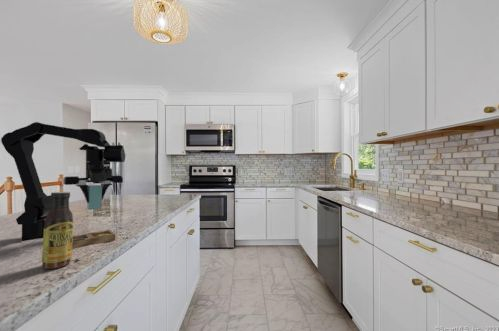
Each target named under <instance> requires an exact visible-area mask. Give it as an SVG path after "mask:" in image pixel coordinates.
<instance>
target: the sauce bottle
mask: <svg viewBox="0 0 499 331" xmlns="http://www.w3.org/2000/svg"><path fill="white" fill-rule="evenodd" d="M50 195H51V198H52V205H51V210H50V212H49V213H48V215H47V216H46V218H45V227H44V235H43V238H42V250H41V252H42V254H41V262H42V264H41V267H42V269H44V270H54V269H60V268H62V267H65V266H68V265H69V264H70V263H71V261H72V260H71V259H72V256H73V248H72V239H73V236H74V235H73V234H74V216H73V213H72V211H71V209H70V198H71V192H70V191H53V192H51V194H50Z"/></svg>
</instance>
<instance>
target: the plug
mask: <svg viewBox="0 0 499 331" xmlns="http://www.w3.org/2000/svg"><path fill="white" fill-rule="evenodd" d="M88 196H89V203H87V202H86V204H87V206H86V209H87V210H88V211H92V210H93V211H94V210H100V209H101V210H102V208H103V207H102V203H103V200H102V186H101V184H92V185H88Z"/></svg>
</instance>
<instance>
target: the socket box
mask: <svg viewBox="0 0 499 331" xmlns="http://www.w3.org/2000/svg"><path fill="white" fill-rule="evenodd" d="M98 231H99V232H96V231H92V232H93V233H89V232H86V233H87V234H83V233H80V234H76V235H73V239H72V249H77V248H82V247H88V246H93V245H97V244H102V243H108V242H113V241H116V233H115V232H113V231H112V230H111V229H107V230H106V229H105V230H98Z"/></svg>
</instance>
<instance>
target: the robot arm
mask: <svg viewBox="0 0 499 331" xmlns="http://www.w3.org/2000/svg"><path fill="white" fill-rule="evenodd" d="M45 135H50V136H55V137H61V138H67V139H74V140H77V141H81V142H83V143H84V144H83V145H82V146H80V147H79V150H80V151H85V177H79V176H70V175H69V176H64V177H63V181H62V182H63V183H62V184H63V185H66V186H67V185H68V186H70V185H73V186H76V187H78V188H80V190H81V191H82V194H83V196H84V199H85V202H86V204H87V203H89V196H88V186H89V185H88V184H87V183H100V185H101V186H102V201H103V199H104V196H105V194H106V192H107V190H108V188H109V187H110V186H112V185H113V183H115V184H120V183H121V184H122V183H123V182H124V180H123V179H124V178H123V176H122V175H113V169H112V168H105V165H104V160H106V162H107V163H125V161H126V152H125V148H124V145H122V144H118V145H110V143H109V142H108V141H107V139H106V134H105V133H104V132H102V131H101V130H97V129H94V128H79V129H78V128H69V127H65V126H64V127H63V126H58V125H51V124H48V123H47V124H45V123H44V122H43V123H42V122H38V121H35V122H33V123H30V124H28V125H26V126H24V127H20V128H18V129H15V130H13V131H11V132H7V133H5V134H4V135H3V136H1V139H0V142H1V144H2V146H3V148H4V149H5V151H6V152H7V153H8V154H9V155H10V156H11V157H12V158H13V160H14V162H15V166H16V169H17V171H18V176H19V178H20V181H21V185H22V188H23V190H24V193H25V199H24V204H23V208H24V212H23V213H21V214H20V215H19V216H17V217H16V219H15V221H16V224H17V225H21V237H20V238H21V239H20V242H21V243H22V242H26V241H33V240H38V239H43V235H44V227H45V218H46V216H47V215H48V213H49V212H50V210H51V205H52V198H51V194H50V195H47V194H46V193H45V192H44V189H43V186H42V184H41V180H40V178H39V174H38V171H37V168H36V165H35V162H34V158H33V153H34V150H35V148H34V144H35V143H37V142H38V141H39V140H41V138H43V136H45ZM89 144H90V145H89ZM94 145H95V146H94Z"/></svg>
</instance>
